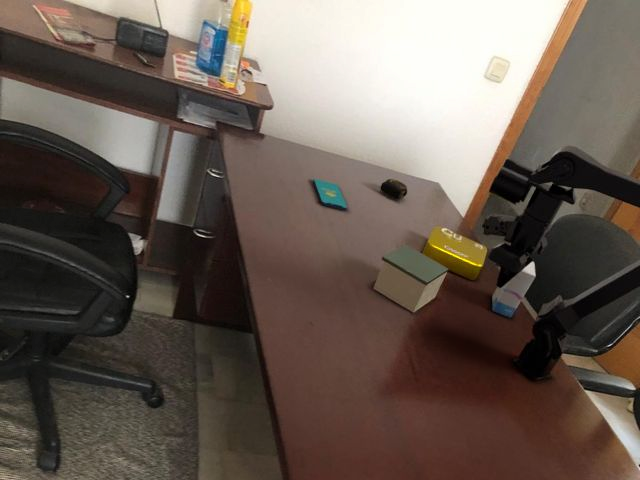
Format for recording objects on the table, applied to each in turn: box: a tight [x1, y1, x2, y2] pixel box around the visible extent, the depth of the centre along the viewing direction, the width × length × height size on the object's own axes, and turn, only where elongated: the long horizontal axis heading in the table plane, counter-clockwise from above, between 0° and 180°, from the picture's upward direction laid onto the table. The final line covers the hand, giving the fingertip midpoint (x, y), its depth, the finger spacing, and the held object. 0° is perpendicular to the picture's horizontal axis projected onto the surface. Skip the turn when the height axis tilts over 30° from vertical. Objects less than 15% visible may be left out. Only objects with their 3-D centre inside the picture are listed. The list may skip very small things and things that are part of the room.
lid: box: [381, 244, 449, 285], centre depth 143 cm, size 11×12×1 cm
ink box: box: [491, 261, 537, 319], centre depth 154 cm, size 9×5×12 cm, turn 168°
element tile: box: [421, 225, 488, 281], centre depth 168 cm, size 15×15×5 cm
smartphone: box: [312, 178, 348, 211], centre depth 176 cm, size 7×1×15 cm
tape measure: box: [380, 178, 408, 201], centre depth 190 cm, size 7×7×4 cm
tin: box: [373, 261, 448, 314], centre depth 145 cm, size 11×12×7 cm
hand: (498, 286), depth 133 cm, fingers closed
